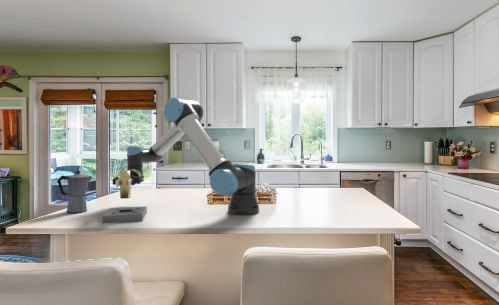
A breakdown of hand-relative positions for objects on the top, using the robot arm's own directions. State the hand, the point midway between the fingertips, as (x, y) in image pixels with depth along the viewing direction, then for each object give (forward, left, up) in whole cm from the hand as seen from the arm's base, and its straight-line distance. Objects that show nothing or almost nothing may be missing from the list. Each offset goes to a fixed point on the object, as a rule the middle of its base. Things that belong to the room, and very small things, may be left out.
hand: (122, 183), depth 138 cm
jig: (0, -5, -16) cm, 17 cm away
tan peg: (0, -5, -7) cm, 9 cm away
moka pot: (+26, -22, -16) cm, 38 cm away
